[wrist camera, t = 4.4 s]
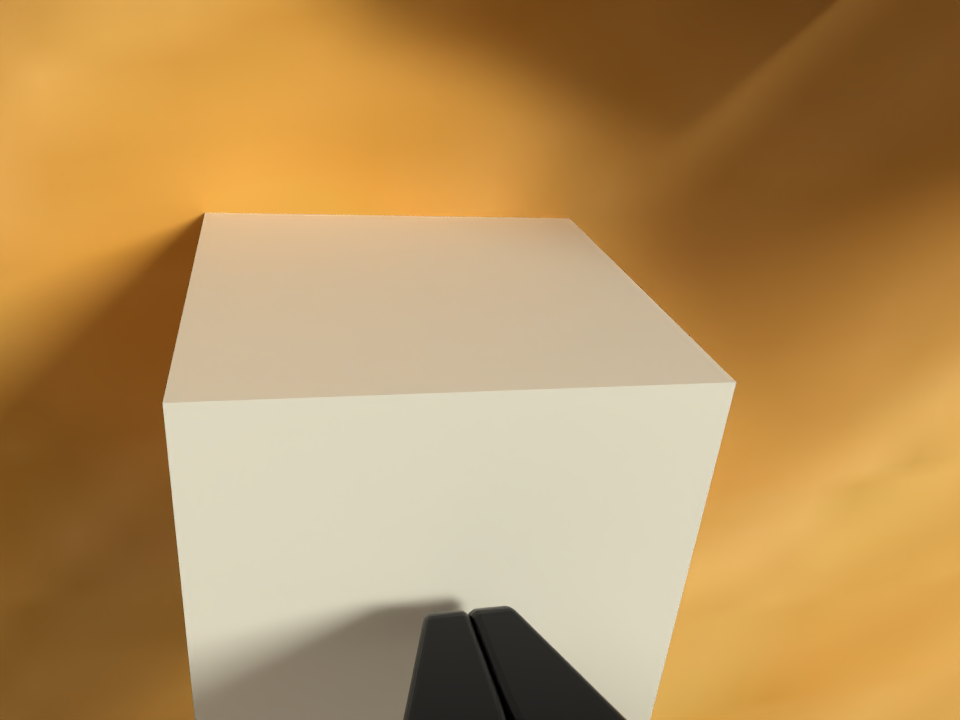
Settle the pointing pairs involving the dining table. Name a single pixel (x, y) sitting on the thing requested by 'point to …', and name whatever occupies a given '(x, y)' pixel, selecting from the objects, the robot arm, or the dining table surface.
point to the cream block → (426, 455)
